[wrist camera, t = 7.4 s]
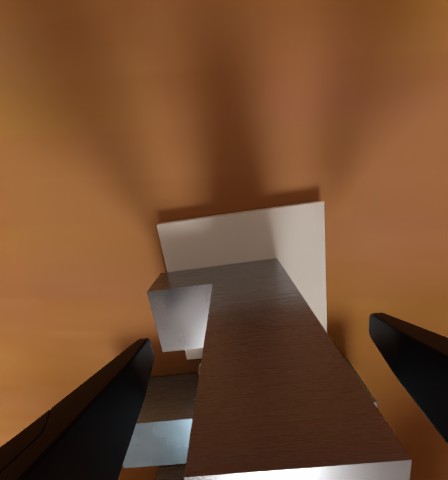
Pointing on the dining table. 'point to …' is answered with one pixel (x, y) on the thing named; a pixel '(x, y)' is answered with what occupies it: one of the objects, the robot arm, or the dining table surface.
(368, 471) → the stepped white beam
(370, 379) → the dining table surface
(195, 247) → the tile
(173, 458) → the frame
